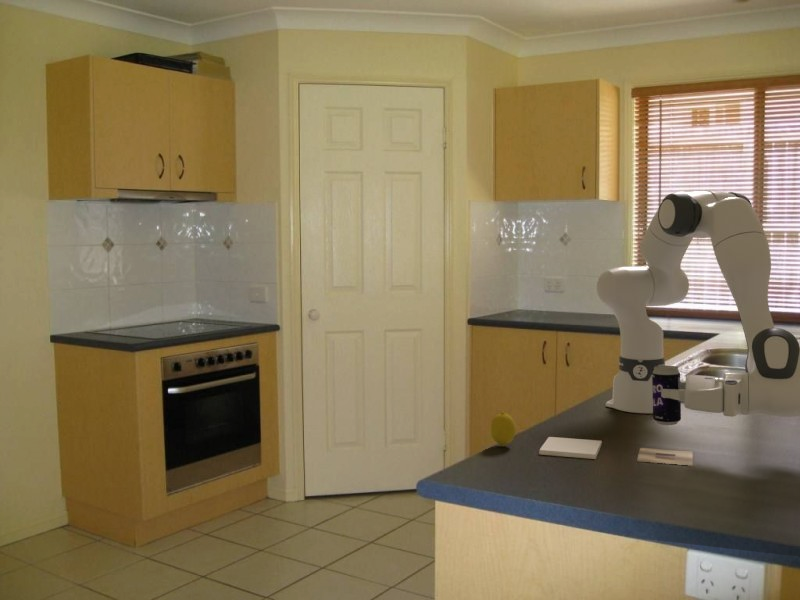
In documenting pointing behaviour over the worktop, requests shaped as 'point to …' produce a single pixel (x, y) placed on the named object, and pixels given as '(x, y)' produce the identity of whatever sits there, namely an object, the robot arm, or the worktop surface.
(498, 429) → the lemon
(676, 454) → the pad
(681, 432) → the worktop surface
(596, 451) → the mat
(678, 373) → the beverage can
